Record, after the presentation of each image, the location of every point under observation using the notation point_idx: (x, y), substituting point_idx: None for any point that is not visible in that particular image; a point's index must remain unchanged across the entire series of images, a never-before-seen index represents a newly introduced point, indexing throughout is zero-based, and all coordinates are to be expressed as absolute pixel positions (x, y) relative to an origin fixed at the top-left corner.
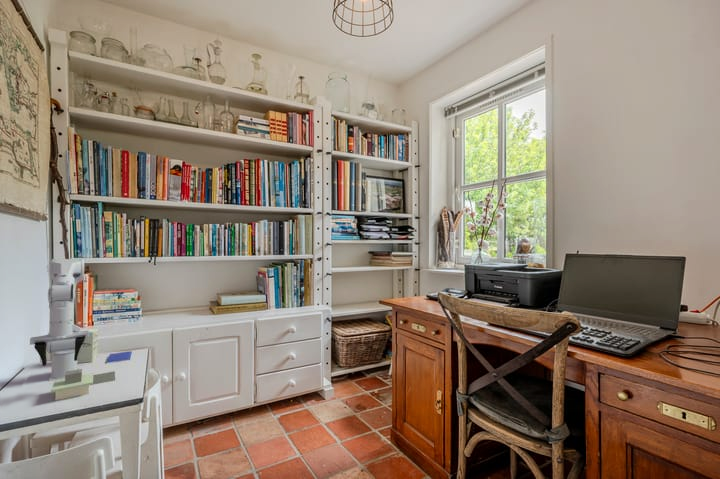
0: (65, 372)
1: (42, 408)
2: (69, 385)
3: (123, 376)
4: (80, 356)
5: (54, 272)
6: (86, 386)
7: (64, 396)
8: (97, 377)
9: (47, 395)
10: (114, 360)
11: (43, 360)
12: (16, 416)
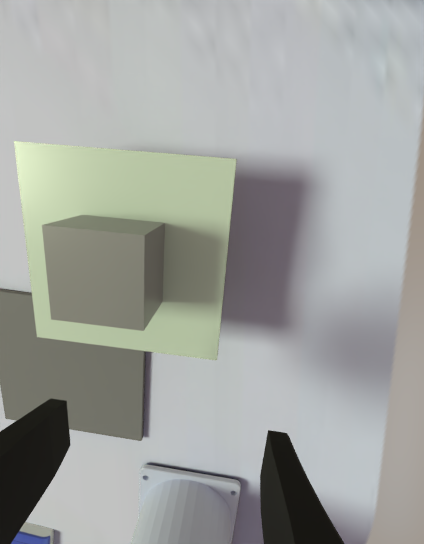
0: (178, 501)
1: (273, 119)
2: (139, 183)
3: None
4: None
5: None
6: None
7: None
8: (64, 387)
9: (248, 310)
10: (18, 539)
11: (293, 474)
12: (384, 83)
